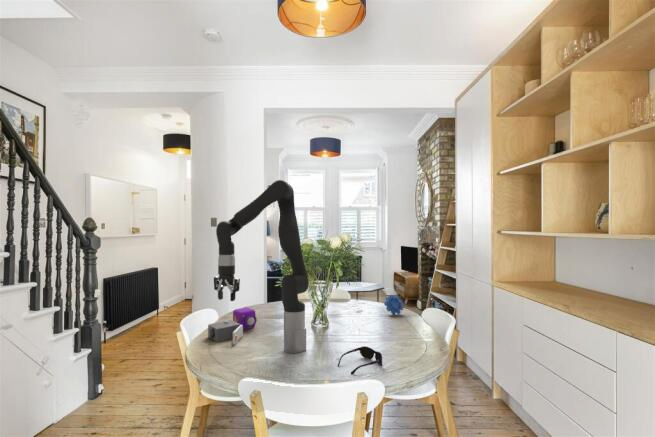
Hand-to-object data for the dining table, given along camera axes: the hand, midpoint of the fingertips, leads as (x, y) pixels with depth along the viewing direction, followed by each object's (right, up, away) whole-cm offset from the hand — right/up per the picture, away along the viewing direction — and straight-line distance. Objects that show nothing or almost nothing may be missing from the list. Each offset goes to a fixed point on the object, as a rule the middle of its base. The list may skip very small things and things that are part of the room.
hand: (226, 300), depth 161 cm
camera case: (-4, -20, +8) cm, 22 cm away
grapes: (+87, -21, +48) cm, 102 cm away
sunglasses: (+60, -20, -26) cm, 68 cm away
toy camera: (+4, -20, +23) cm, 31 cm away
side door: (+5, -19, +3) cm, 20 cm away
